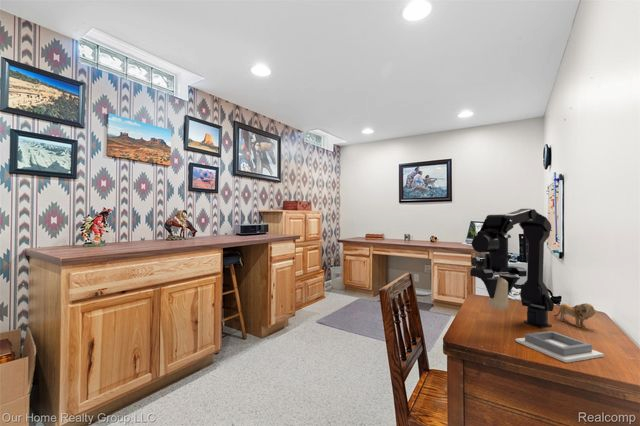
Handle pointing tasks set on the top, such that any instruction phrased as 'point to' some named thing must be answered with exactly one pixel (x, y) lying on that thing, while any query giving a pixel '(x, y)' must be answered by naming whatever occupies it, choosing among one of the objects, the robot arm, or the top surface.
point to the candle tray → (559, 346)
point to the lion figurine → (577, 312)
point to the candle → (500, 294)
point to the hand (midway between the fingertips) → (498, 297)
